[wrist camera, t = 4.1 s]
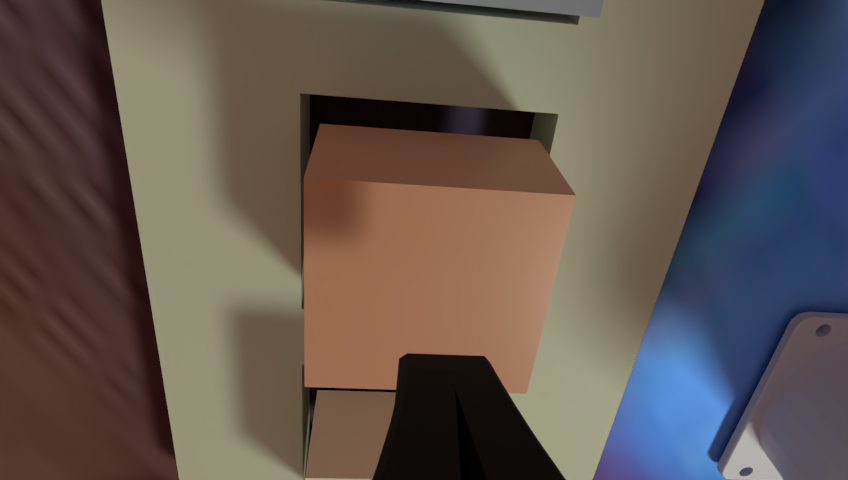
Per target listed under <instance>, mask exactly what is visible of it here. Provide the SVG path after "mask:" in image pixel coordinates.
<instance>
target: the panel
mask: <svg viewBox="0 0 848 480" xmlns="http://www.w3.org/2000/svg"><path fill="white" fill-rule="evenodd" d="M764 1H765V0H604V2H603V6H602V10H601V15H600V18H598V17H588V16H578V15H567V14H557V13H547V12H537V11H526V10H516V9H506V8H495V7H485V6H475V5H465V4H454V3H444V2H434V1H423V0H101V3H102V9H103V15H104V21H105V27H106V33H107V40H108V46H109V52H110V58H111V64H112V70H113V76H114V82H115V89H116V95H117V101H118V107H119V113H120V119H121V125H122V131H123V138H124V144H125V150H126V156H127V162H128V168H129V174H130V180H131V187H132V193H133V199H134V205H135V211H136V217H137V223H138V230H139V236H140V242H141V248H142V254H143V260H144V266H145V272H146V279H147V285H148V291H149V297H150V303H151V309H152V315H153V321H154V328H155V334H156V340H157V346H158V352H159V358H160V364H161V370H162V377H163V383H164V389H165V395H166V401H167V407H168V413H169V419H170V426H171V432H172V438H173V444H174V450H175V456H176V462H177V468H178V475H179V480H305V474H306V467H307V460H308V453H309V393H310V387H305V377H304V175H305V171H306V168H307V165H308V162H309V158H310V94H315V95H327V96H340V97H352V98H365V99H377V100H390V101H402V102H415V103H427V104H440V105H453V106H465V107H478V108H490V109H503V110H515V111H528V112H535V115H534V120H533V125H532V130H531V135H530V139H533V140H539V141H540V142H541V144H542V145H543V147H544V148H545V150H546V151H547V153H548V154H549V156H550V157H551V159H552V160H553V162H554V163H555V165H556V166H557V168H558V169H559V171H560V172H561V174H562V175H563V177H564V178H565V180H566V181H567V183H568V184H569V186H570V187H571V189H572V190H573V192H574V193H575V195H576V197H575V201H574V205H573V209H572V213H571V217H570V222H569V226H568V230H567V234H566V238H565V242H564V246H563V250H562V254H561V258H560V262H559V266H558V270H557V274H556V278H555V282H554V286H553V290H552V294H551V298H550V302H549V306H548V310H547V314H546V318H545V322H544V326H543V330H542V334H541V338H540V342H539V346H538V350H537V354H536V358H535V362H534V366H533V370H532V374H531V378H530V382H529V386H528V390H527V394H519V393H508V394H509V395H510V397H511V399H512V400H513V402H514V404H515V405H516V407H517V408H518V410H519V411H520V413H521V415H522V416H523V418H524V419H525V421H526V422H527V424H528V425H529V427H530V428H531V430H532V431H533V433H534V434H535V436H536V437H537V439H538V440H539V442H540V443H541V445H542V446H543V448H544V449H545V451H546V452H547V453H548V455H549V456H550V458H551V459H552V461H553V462H554V463H555V465H556V466H557V468H558V469H559V470H560V472H561V473H562V475H563V476H564V478H565V479H566V480H592V479H593V477H594V474H595V471H596V468H597V466H598V463H599V460H600V457H601V454H602V452H603V449H604V446H605V443H606V440H607V438H608V435H609V432H610V429H611V427H612V424H613V421H614V418H615V415H616V413H617V410H618V407H619V404H620V402H621V399H622V396H623V393H624V390H625V388H626V385H627V382H628V379H629V376H630V374H631V371H632V368H633V365H634V363H635V360H636V357H637V354H638V351H639V349H640V346H641V343H642V340H643V337H644V335H645V332H646V329H647V326H648V324H649V321H650V318H651V315H652V312H653V310H654V307H655V304H656V301H657V298H658V296H659V293H660V290H661V287H662V285H663V282H664V279H665V276H666V273H667V271H668V268H669V265H670V262H671V260H672V257H673V254H674V251H675V248H676V246H677V243H678V240H679V237H680V234H681V232H682V229H683V226H684V223H685V221H686V218H687V215H688V212H689V209H690V207H691V204H692V201H693V198H694V195H695V193H696V190H697V187H698V184H699V182H700V179H701V176H702V173H703V170H704V168H705V165H706V162H707V159H708V156H709V154H710V151H711V148H712V145H713V143H714V140H715V137H716V134H717V131H718V129H719V126H720V123H721V120H722V118H723V115H724V112H725V109H726V106H727V104H728V101H729V98H730V95H731V92H732V90H733V87H734V84H735V81H736V79H737V76H738V73H739V70H740V67H741V65H742V62H743V59H744V56H745V53H746V51H747V48H748V45H749V42H750V40H751V37H752V34H753V31H754V28H755V26H756V23H757V20H758V17H759V14H760V12H761V9H762V6H763V3H764Z"/></svg>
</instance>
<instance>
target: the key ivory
mask: <svg viewBox="0 0 848 480" xmlns="http://www.w3.org/2000/svg"><path fill="white" fill-rule="evenodd" d="M395 394H396V392H366V391H333V390H317V396H316V403H315V410H314V417H313V424H312V431H311V439H310V446H309V453H308V460H307V467H306V474H305V480H372V479H373V476H374V473H375V470H376V467H377V464H378V461H379V458H380V455H381V452H382V448H383V445H384V442H385V438H386V435H387V432H388V429H389V425H390V422H391V418H392V413H393V409H394V404H395Z"/></svg>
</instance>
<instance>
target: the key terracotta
mask: <svg viewBox="0 0 848 480" xmlns="http://www.w3.org/2000/svg"><path fill="white" fill-rule="evenodd" d="M575 197H576V195H575V193H574V192H573V190H572V189H571V187H570V186H569V184H568V183H567V181H566V180H565V178H564V177H563V175H562V174H561V172H560V171H559V169H558V168H557V166H556V165H555V163H554V162H553V160H552V159H551V157H550V156H549V154H548V153H547V151H546V150H545V148H544V147H543V145H542V144H541V142H540V141H539V140H533V139H519V138H506V137H492V136H479V135H466V134H452V133H439V132H426V131H412V130H399V129H386V128H372V127H359V126H346V125H332V124H320V125H319V129H318V132H317V135H316V139H315V142H314V145H313V148H312V152H311V155H310V158H309V162H308V165H307V168H306V171H305V175H304V377H305V387H321V388H354V389H387V390H396V384H397V374H398V364H399V358H401V357H402V356H404V355H405V354H407V353H414V354H442V355H471V356H485V357H486V358H487V359H488V361H489V362H490V363H491V365H492V367H493V368H494V370H495V372H496V374H497V375H498V377H499V379H500V380H501V382H502V384H503V385H504V387H505V389H506V390H507V392H508V393H519V394H527V390H528V386H529V382H530V378H531V374H532V370H533V366H534V362H535V358H536V354H537V350H538V346H539V342H540V338H541V334H542V330H543V326H544V322H545V318H546V314H547V310H548V306H549V302H550V298H551V294H552V290H553V286H554V282H555V278H556V274H557V270H558V266H559V262H560V258H561V254H562V250H563V246H564V242H565V238H566V234H567V230H568V226H569V222H570V217H571V213H572V209H573V205H574V201H575Z"/></svg>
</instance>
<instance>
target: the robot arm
mask: <svg viewBox="0 0 848 480" xmlns="http://www.w3.org/2000/svg"><path fill="white" fill-rule="evenodd" d="M820 326H821V327H820ZM717 468H718V471H719V472H720V474H721V476H722V477H724V478H726V479H749V480H848V314H847V313H826V312H803V313H800V314H798V315H796V316H795V317H794V318H792V320H791V321H790V323H789V324H788V326H787V328H786V330H785V332H784V334H783V336H782V338H781V340H780V342H779V344H778V346H777V348H776V350H775V352H774V354H773V356H772V358H771V360H770V362H769V364H768V366H767V368H766V370H765V372H764V374H763V376H762V378H761V380H760V382H759V384H758V386H757V388H756V389H755V391H754V393H753V395H752V397H751V399H750V401H749V403H748V405H747V407H746V409H745V411H744V413H743V415H742V417H741V419H740V421H739V423H738V425H737V427H736V429H735V431H734V433H733V435H732V437H731V439H730V441H729V443H728V445H727V447H726V449H725V451H724V453H723V455H722V456H721V458H720V460H719V462H718V465H717ZM372 480H566V479H565V478H564V476H563V475H562V473H561V472H560V470H559V469H558V468H557V466H556V465H555V463H554V462H553V461H552V459H551V458H550V456H549V455H548V453H547V452H546V451H545V449H544V448H543V446H542V445H541V443H540V442H539V440H538V439H537V437H536V436H535V434H534V433H533V431H532V430H531V428H530V427H529V425H528V424H527V422H526V421H525V419H524V418H523V416H522V415H521V413H520V411H519V410H518V408H517V407H516V405H515V404H514V402H513V400H512V399H511V397H510V395H509V394H508V392H507V390H506V389H505V387H504V385H503V384H502V382H501V380H500V379H499V377H498V375H497V374H496V372H495V370H494V368H493V367H492V365H491V363H490V362H489V361H488V359H487V358H486V357H485V356H471V355H442V354H414V353H407V354H405V355H404V356H402V357H401V358H399V364H398V374H397V384H396V394H395V404H394V409H393V413H392V418H391V422H390V425H389V429H388V432H387V435H386V438H385V442H384V445H383V448H382V452H381V455H380V458H379V461H378V464H377V467H376V470H375V473H374V476H373V479H372Z"/></svg>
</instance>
